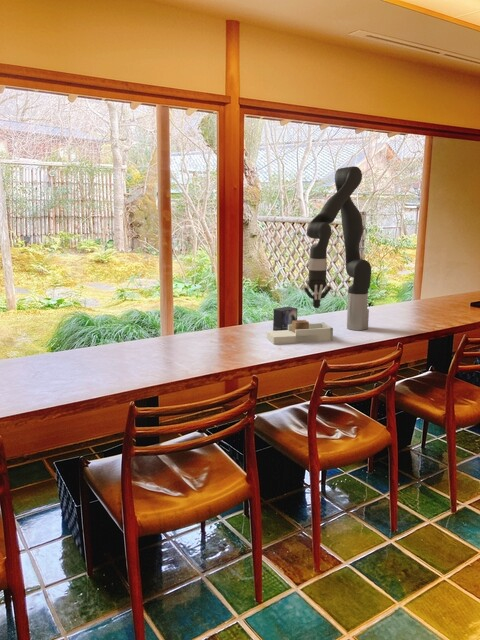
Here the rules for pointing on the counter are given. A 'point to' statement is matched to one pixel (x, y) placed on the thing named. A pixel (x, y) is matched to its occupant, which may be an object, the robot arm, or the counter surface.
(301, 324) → the block
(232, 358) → the counter surface
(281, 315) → the small box
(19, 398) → the counter surface
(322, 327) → the channel
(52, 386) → the counter surface
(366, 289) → the robot arm
